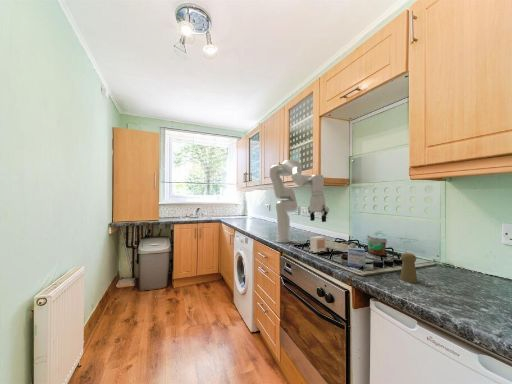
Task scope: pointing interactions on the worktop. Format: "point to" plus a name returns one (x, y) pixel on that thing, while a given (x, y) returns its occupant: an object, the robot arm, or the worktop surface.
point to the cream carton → (317, 243)
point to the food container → (376, 246)
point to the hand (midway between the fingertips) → (318, 221)
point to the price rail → (338, 246)
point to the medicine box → (356, 257)
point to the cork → (408, 268)
